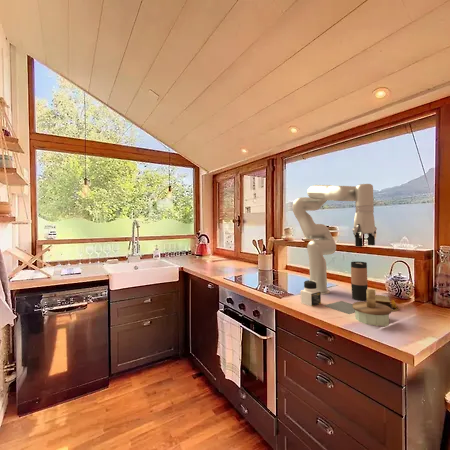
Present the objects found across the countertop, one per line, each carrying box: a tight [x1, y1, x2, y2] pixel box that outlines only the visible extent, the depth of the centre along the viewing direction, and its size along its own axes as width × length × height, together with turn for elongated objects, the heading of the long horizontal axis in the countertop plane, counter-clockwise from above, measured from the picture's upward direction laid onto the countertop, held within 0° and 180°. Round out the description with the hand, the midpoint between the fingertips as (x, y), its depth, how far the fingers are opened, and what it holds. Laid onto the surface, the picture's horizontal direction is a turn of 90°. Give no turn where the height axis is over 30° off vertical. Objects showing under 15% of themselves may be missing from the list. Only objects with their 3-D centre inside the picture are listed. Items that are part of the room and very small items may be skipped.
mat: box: [323, 300, 355, 315], centre depth 121 cm, size 14×14×1 cm
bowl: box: [354, 310, 390, 328], centre depth 104 cm, size 12×12×5 cm
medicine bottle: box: [300, 279, 322, 307], centre depth 128 cm, size 7×7×12 cm
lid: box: [352, 288, 392, 315], centre depth 104 cm, size 14×14×8 cm
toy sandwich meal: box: [375, 294, 400, 312], centre depth 120 cm, size 12×14×5 cm
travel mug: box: [350, 261, 369, 302], centre depth 133 cm, size 8×8×20 cm
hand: (365, 245), depth 119 cm, fingers open, 9 cm apart
